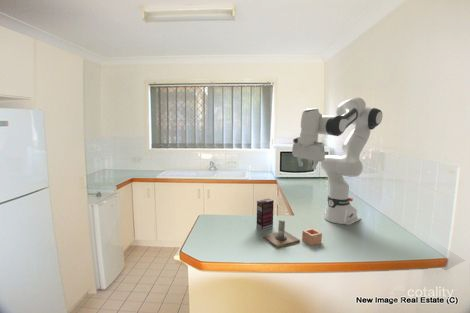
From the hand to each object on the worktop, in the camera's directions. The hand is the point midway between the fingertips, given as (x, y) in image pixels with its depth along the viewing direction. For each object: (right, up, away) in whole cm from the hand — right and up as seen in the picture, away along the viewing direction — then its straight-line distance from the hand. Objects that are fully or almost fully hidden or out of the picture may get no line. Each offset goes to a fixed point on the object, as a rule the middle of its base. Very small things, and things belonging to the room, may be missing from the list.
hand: (306, 167), depth 139 cm
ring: (+1, -37, -3) cm, 37 cm away
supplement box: (-20, -34, +12) cm, 42 cm away
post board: (-14, -36, -3) cm, 39 cm away
